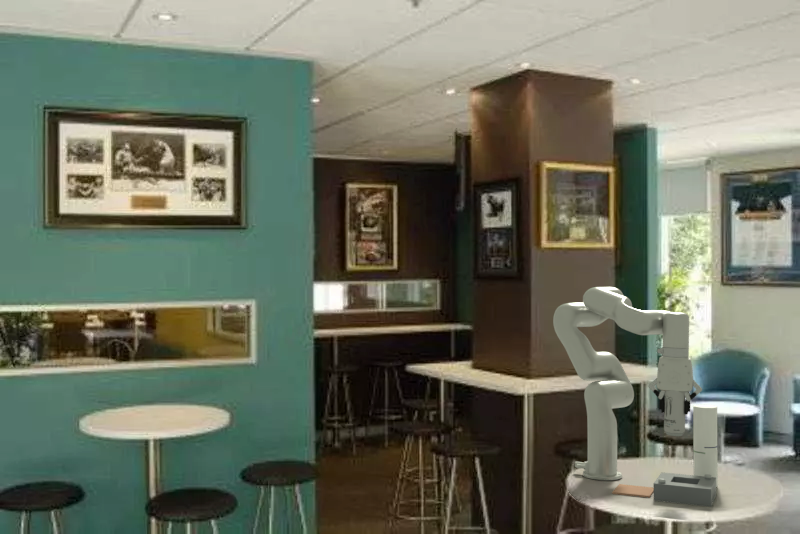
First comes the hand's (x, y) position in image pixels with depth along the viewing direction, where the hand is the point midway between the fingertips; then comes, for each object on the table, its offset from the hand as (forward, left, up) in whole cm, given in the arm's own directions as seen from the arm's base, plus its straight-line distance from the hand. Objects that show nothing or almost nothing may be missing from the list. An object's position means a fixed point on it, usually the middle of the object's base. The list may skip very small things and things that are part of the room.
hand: (674, 412), depth 253 cm
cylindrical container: (+7, +18, -25) cm, 32 cm away
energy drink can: (0, 0, -7) cm, 7 cm away
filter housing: (+3, 0, -25) cm, 25 cm away
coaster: (-12, 0, -25) cm, 28 cm away
